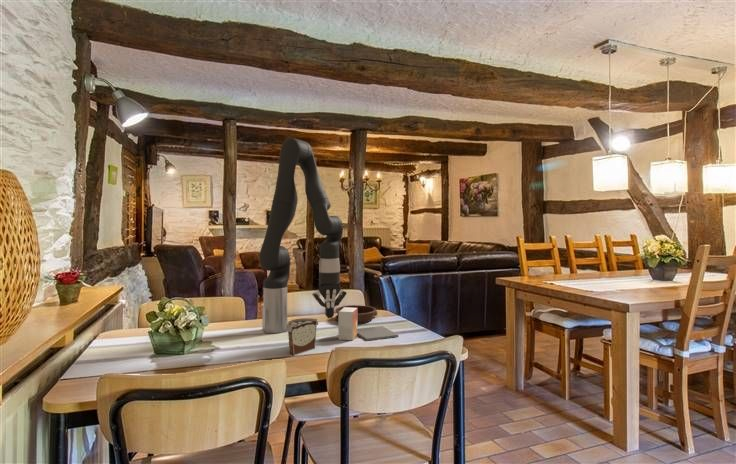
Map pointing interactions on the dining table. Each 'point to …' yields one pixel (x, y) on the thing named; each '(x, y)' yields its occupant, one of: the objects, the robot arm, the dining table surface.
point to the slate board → (375, 333)
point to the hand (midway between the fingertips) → (329, 317)
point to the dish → (361, 313)
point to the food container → (301, 335)
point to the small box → (347, 323)
